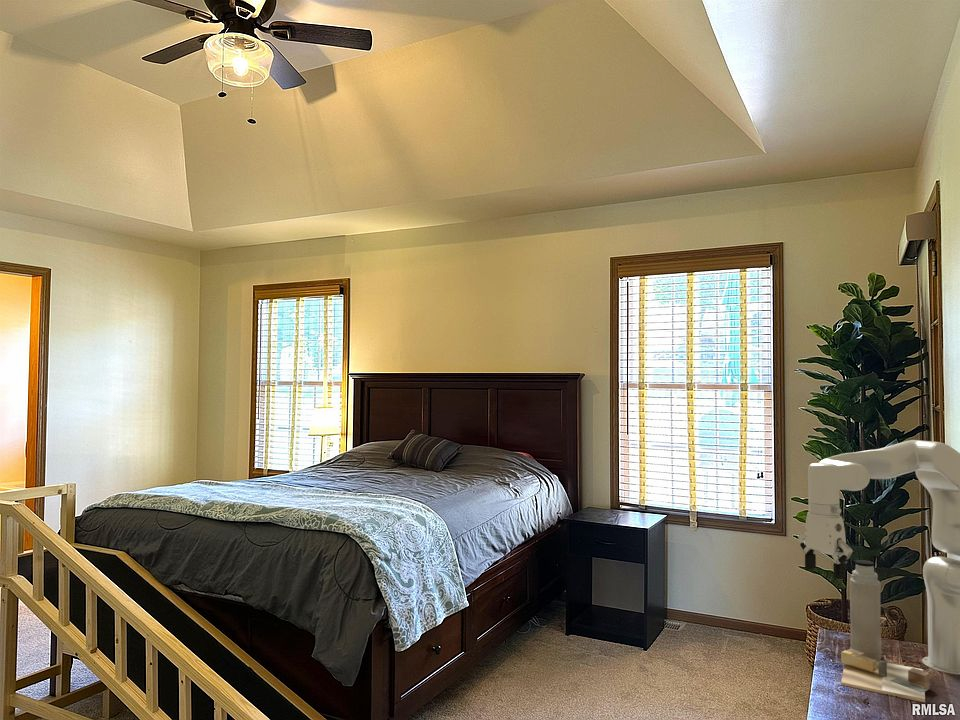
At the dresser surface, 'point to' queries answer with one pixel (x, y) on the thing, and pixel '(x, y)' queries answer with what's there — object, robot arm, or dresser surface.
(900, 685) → the door board
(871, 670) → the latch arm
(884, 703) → the dresser surface
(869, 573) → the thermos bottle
